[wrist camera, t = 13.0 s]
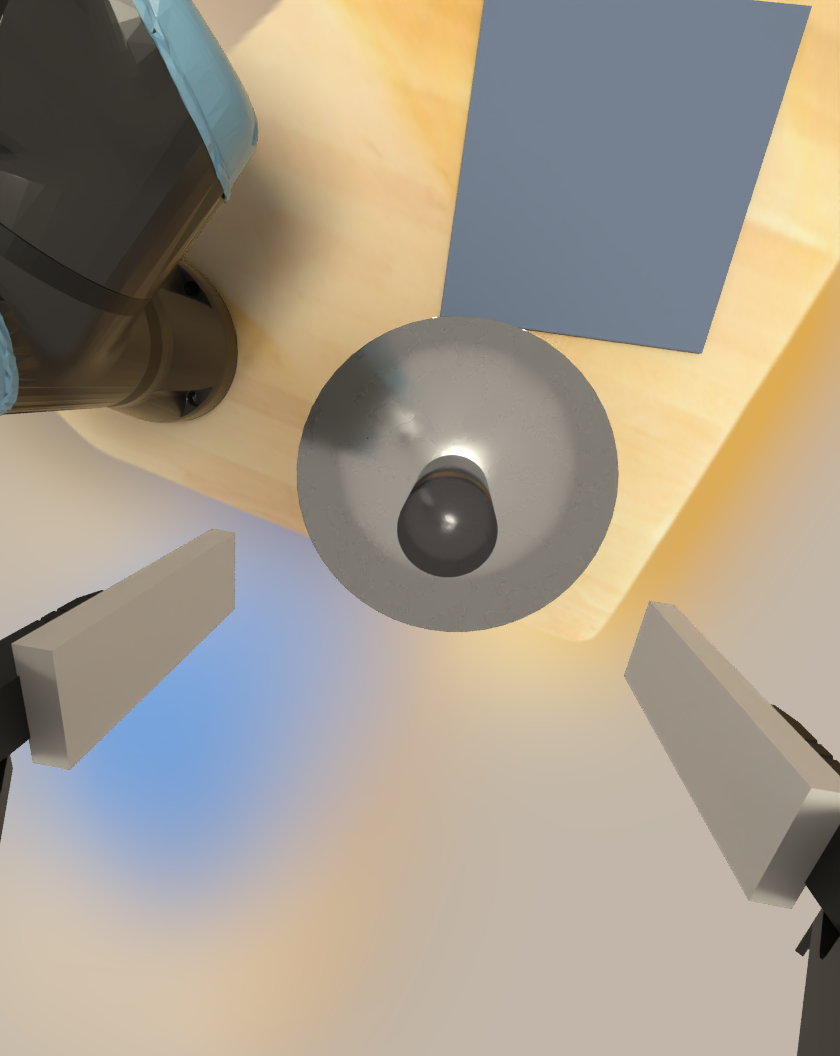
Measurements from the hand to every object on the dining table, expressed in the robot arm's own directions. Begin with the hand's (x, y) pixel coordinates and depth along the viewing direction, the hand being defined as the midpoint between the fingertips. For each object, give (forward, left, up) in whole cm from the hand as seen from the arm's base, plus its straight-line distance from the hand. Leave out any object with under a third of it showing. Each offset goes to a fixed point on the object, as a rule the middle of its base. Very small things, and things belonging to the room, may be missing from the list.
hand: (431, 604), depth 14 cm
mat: (+8, +24, -31) cm, 40 cm away
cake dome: (0, 0, -31) cm, 31 cm away
